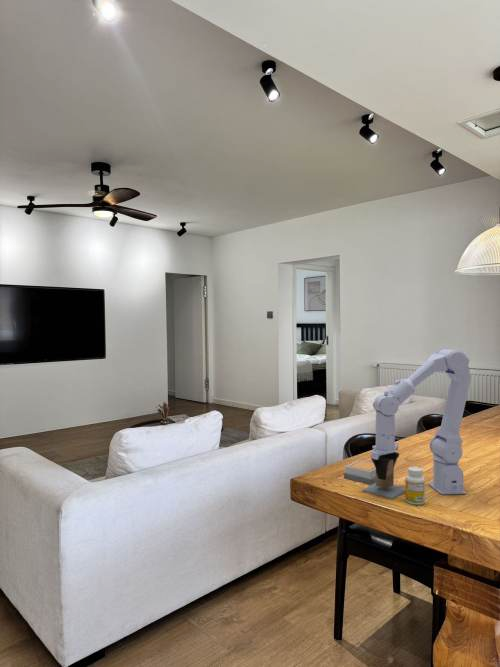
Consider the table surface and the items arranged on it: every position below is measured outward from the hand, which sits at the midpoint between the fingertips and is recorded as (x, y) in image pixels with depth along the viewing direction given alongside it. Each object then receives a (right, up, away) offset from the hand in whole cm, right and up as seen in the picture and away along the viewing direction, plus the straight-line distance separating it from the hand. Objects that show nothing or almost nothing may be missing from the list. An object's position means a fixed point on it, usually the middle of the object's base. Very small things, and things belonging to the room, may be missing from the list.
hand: (385, 477), depth 146 cm
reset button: (-3, -2, +13) cm, 13 cm away
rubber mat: (0, -4, 0) cm, 4 cm away
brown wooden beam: (0, -3, 0) cm, 3 cm away
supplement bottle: (+6, -5, -9) cm, 12 cm away
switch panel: (-3, -4, +13) cm, 14 cm away
